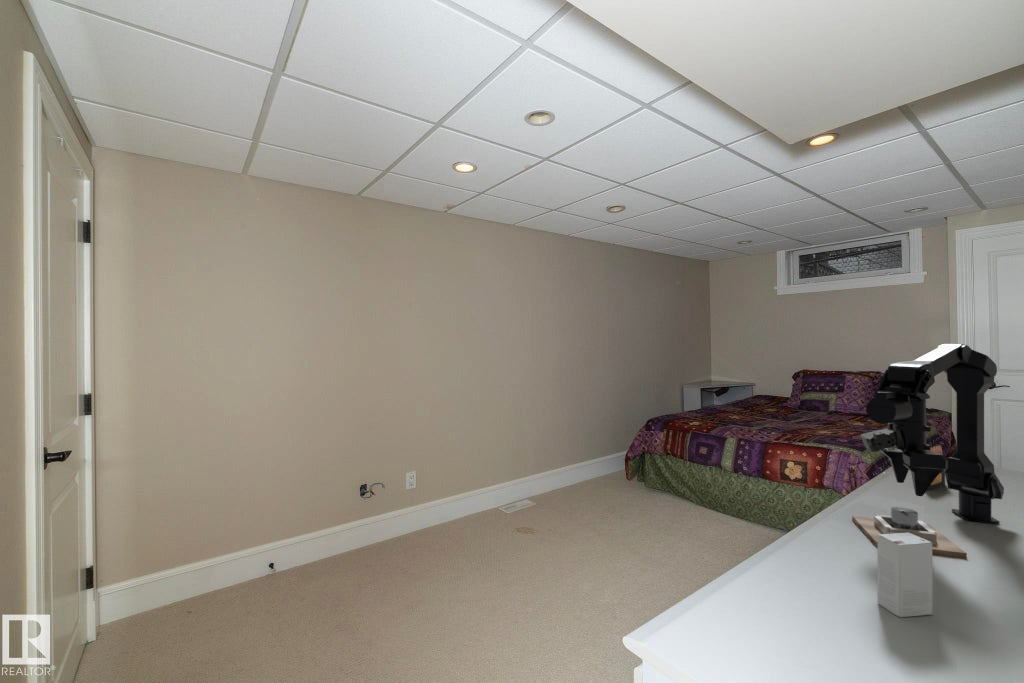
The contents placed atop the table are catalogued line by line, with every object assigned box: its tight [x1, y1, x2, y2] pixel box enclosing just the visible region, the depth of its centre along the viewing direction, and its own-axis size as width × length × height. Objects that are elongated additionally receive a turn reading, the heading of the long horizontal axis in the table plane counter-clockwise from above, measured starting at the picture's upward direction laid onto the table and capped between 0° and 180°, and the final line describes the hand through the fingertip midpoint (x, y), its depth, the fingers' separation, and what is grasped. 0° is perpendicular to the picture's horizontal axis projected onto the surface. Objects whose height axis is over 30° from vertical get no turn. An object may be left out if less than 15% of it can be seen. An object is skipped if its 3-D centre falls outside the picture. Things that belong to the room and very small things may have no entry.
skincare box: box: [876, 533, 933, 618], centre depth 75 cm, size 6×4×12 cm
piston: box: [890, 506, 919, 531], centre depth 101 cm, size 4×4×5 cm
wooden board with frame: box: [851, 513, 968, 559], centre depth 101 cm, size 15×15×3 cm
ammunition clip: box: [925, 444, 946, 491], centre depth 134 cm, size 11×2×12 cm, turn 117°
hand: (909, 489), depth 101 cm, fingers open, 9 cm apart
